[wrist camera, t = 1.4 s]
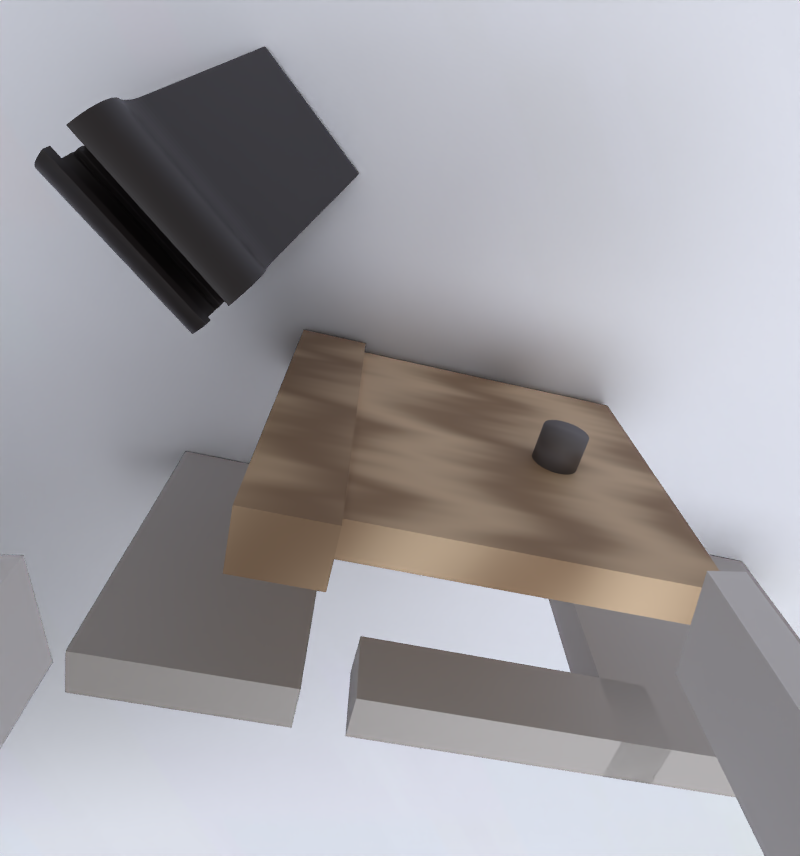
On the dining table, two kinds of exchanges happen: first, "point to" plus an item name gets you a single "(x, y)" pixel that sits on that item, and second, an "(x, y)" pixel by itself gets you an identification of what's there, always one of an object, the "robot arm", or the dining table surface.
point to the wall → (380, 659)
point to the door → (457, 488)
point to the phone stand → (202, 180)
